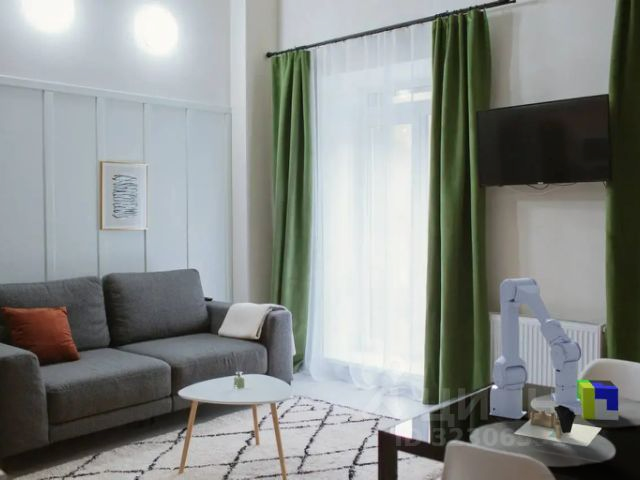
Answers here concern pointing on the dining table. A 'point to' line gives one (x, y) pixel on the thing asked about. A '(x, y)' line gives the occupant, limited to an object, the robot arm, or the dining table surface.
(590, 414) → the puzzle toy
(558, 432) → the fence panel
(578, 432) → the mat
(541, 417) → the fence fixed panel
